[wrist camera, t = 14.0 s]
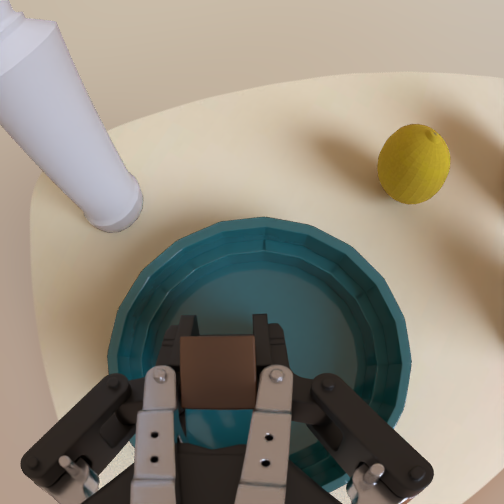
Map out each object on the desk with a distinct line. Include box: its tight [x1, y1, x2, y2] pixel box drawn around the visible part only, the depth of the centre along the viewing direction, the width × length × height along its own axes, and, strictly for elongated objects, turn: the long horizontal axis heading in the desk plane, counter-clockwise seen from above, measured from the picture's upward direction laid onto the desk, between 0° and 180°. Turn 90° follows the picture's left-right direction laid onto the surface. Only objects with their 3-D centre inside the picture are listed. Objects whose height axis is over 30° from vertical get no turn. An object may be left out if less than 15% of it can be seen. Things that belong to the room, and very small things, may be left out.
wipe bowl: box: [107, 217, 412, 493], centre depth 17 cm, size 17×17×4 cm
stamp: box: [180, 334, 257, 410], centre depth 15 cm, size 6×4×9 cm, turn 92°
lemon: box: [377, 124, 450, 204], centre depth 20 cm, size 6×6×8 cm
